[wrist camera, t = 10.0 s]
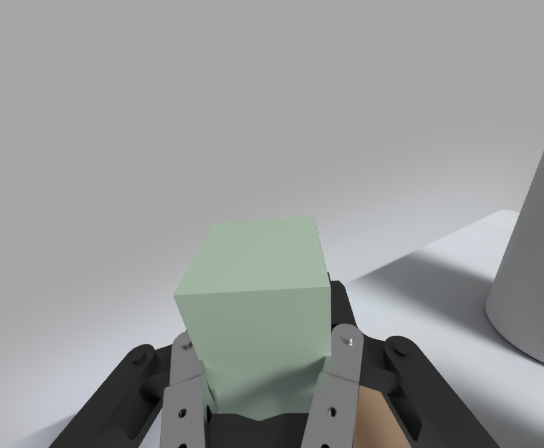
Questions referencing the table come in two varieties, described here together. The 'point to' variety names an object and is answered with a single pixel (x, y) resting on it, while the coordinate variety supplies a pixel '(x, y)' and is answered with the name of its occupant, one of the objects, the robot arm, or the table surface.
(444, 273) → the table surface
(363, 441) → the walnut block
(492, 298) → the cylinder vase
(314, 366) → the sage block
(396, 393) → the robot arm
